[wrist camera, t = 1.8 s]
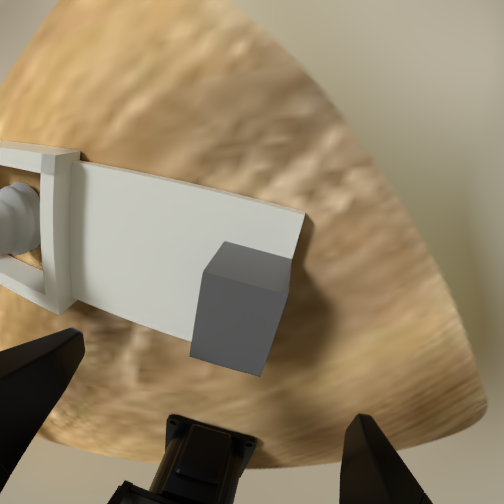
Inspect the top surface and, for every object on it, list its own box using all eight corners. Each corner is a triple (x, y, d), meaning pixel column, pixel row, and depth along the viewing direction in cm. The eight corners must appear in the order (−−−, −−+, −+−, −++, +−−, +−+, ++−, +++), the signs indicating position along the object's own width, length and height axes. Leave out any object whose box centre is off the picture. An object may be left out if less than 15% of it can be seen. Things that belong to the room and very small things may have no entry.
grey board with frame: (258, 360, 17) (247, 412, 13) (-6, 259, 18) (-40, 280, 14) (307, 200, 13) (309, 225, 10) (-10, 139, 14) (-52, 148, 11)
